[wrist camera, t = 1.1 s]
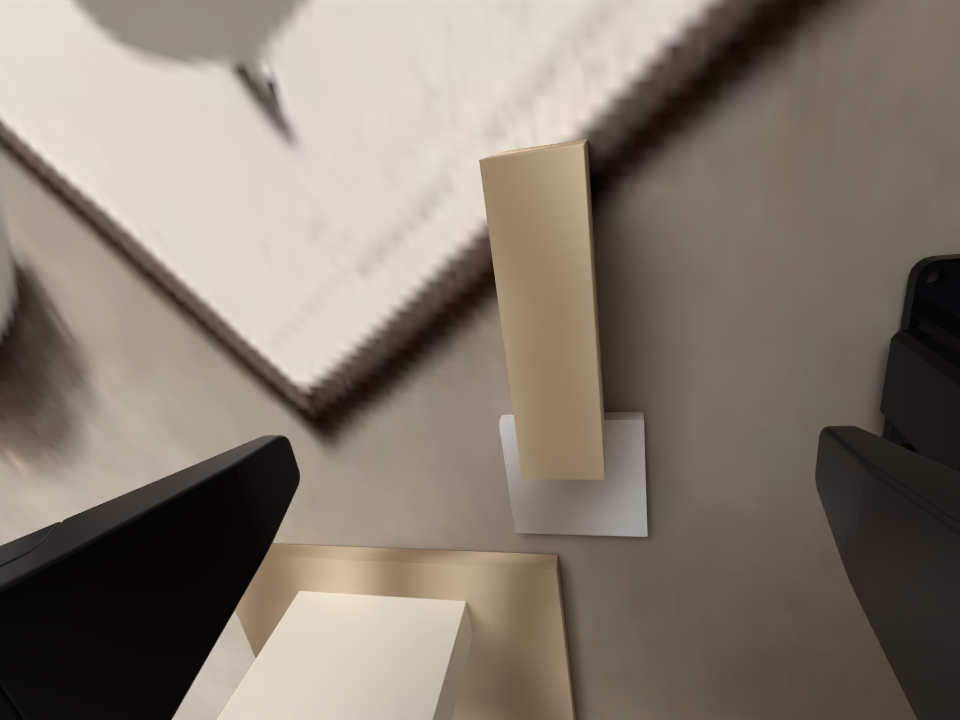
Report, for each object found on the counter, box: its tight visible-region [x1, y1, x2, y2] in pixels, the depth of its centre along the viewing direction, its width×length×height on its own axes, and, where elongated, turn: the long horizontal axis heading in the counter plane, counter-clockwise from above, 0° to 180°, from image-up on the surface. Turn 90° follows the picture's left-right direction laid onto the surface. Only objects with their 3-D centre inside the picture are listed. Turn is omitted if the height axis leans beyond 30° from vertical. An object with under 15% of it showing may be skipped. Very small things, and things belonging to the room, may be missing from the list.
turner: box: [479, 139, 647, 537], centre depth 17 cm, size 5×14×4 cm, turn 8°
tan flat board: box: [235, 544, 576, 720], centre depth 26 cm, size 16×14×1 cm
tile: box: [217, 591, 473, 720], centre depth 21 cm, size 8×2×8 cm, turn 98°
